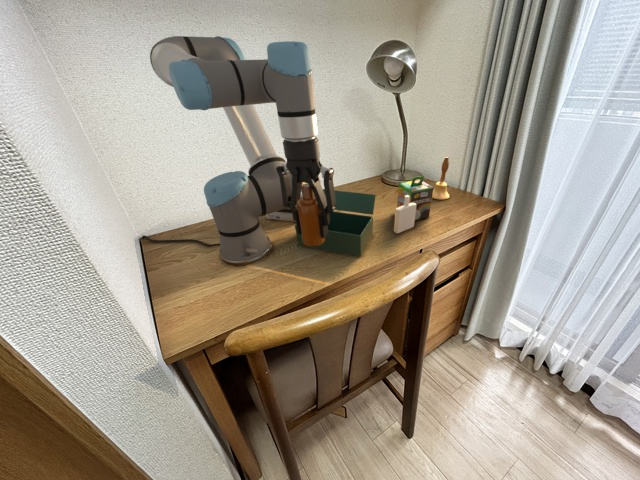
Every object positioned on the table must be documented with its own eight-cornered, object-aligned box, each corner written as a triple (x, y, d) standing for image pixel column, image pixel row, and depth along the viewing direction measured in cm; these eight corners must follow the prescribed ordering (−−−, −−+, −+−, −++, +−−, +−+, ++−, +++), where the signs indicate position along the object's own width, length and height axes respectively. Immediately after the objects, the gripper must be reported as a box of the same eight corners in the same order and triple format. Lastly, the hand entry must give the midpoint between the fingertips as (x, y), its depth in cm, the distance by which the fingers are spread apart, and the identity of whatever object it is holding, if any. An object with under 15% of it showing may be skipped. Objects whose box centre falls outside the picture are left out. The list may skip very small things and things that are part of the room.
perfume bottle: (410, 224, 92) (414, 192, 85) (414, 226, 91) (418, 194, 84) (393, 231, 89) (395, 198, 82) (397, 234, 88) (400, 200, 80)
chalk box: (416, 207, 103) (421, 169, 95) (430, 217, 96) (436, 177, 88) (395, 212, 101) (398, 173, 92) (408, 222, 94) (412, 181, 85)
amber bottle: (298, 244, 68) (288, 188, 59) (309, 233, 73) (301, 179, 64) (319, 247, 67) (312, 191, 58) (328, 236, 71) (323, 182, 62)
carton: (298, 245, 84) (294, 225, 79) (315, 227, 93) (313, 208, 89) (360, 257, 77) (360, 236, 73) (372, 236, 87) (373, 216, 83)
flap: (314, 188, 87) (315, 188, 87) (313, 206, 88) (313, 207, 89) (375, 194, 81) (375, 194, 81) (372, 214, 82) (373, 214, 82)
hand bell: (445, 191, 116) (452, 154, 106) (452, 199, 109) (460, 159, 99) (426, 192, 115) (432, 155, 106) (433, 200, 108) (439, 160, 99)
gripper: (348, 135, 55) (352, 231, 69) (271, 133, 60) (289, 222, 74) (334, 143, 49) (341, 246, 63) (251, 139, 55) (274, 235, 69)
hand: (313, 233), depth 68 cm, fingers closed on amber bottle, 6 cm apart
